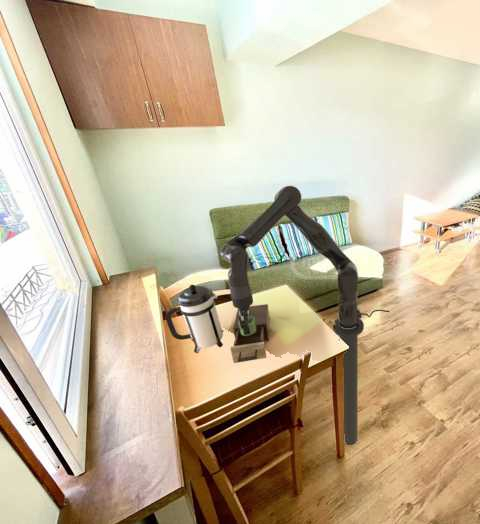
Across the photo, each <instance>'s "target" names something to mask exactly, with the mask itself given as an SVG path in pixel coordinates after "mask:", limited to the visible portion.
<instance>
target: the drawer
mask: <svg viewBox="0 0 480 524" xmlns="http://www.w3.org/2000/svg"><path fill="white" fill-rule="evenodd" d="M265 338H266V332H265V326H258V327H256V332H255V333H254V334H252V335H249V336H243V335H241V332H240V329H237V332H236V337H235V336H234V341H233V345H232V346H230V354H231V357H232V361H233V364H237V363H245V362H250V361H256V360H262V359H267V352H266V341H265Z"/></svg>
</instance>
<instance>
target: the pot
mask: <svg viewBox="0 0 480 524" xmlns="http://www.w3.org/2000/svg"><path fill="white" fill-rule="evenodd" d="M247 318H248V317H246V319H247ZM249 318H250V320H249V321H248V322H249V330H250V334H247V335H244V331H243V329H241V326H240V321H238V323H239V328H240V332H241V335H243V336H249V335H252V334H254V333H255V332H256V323H255V318H254V317H253V316H249Z"/></svg>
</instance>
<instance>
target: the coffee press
mask: <svg viewBox="0 0 480 524" xmlns="http://www.w3.org/2000/svg"><path fill="white" fill-rule="evenodd" d="M215 299H218V296H217V295H216V293H214V292H213V290H212V289H211V288H209V286H206V285H200V284H198V285H195V284H190V285H189V287H186V288H185V289H184V290H182V291H181V292H180V293H179V294H178V296H177V299H176V302H177V304H178V305H179V306H176V307H173V308H170V309H168V310H167V311H166V313H165V321H166V324H167V326H168V327H167V328H168V329H169V332H170V334H171V336H172V338H174V339H176V340H180V341H181V340H182V341H183V340H188V339H190V340H191V342H192V343H193V345H194V349H193V353H195V354H199V353H200V351H201V349H207V348H211V347H214V346H215V345H216V346H217V347H218V348H222V347H223V346H224V344H223V342H222V341H221V340H222V339H223V336H224V330H223V328H222V326H221V321H220V319H219V314H218V311H217V307H216V301H215ZM177 312H181V314H182V316H183V318H184V321H185V324H186V327H187V329H188V334H183V335H182V334H179V333H178V332H177V329H176V326H175V325H174V322H173V319H172V315H173V314H175V313H177Z"/></svg>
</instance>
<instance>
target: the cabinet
mask: <svg viewBox="0 0 480 524" xmlns="http://www.w3.org/2000/svg"><path fill="white" fill-rule="evenodd" d="M250 309H251V316H253V317H254V318H255V323H256V327H258V326H265V332H266V338H265V342H270V320H271V319H270V318H271V317H270V309H269V304H268V303H266V304H258V305H250ZM239 310H240V309H238V308H237V311H236V315H235V318H234V323H233V327H232V330H233V336H234V338H235V337H236V332H237V329H240V328H239V323H238V321H239V316H240V315H239Z"/></svg>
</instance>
